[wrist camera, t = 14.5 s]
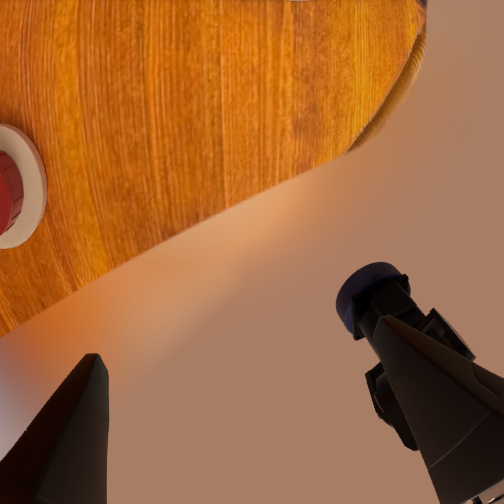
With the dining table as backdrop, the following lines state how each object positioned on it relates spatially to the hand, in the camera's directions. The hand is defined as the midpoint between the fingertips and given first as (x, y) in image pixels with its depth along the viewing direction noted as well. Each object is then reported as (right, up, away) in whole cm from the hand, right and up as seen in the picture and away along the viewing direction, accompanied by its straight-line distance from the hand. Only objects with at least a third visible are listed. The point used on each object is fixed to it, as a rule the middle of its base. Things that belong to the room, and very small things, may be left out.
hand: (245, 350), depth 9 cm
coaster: (-17, +8, +6) cm, 20 cm away
